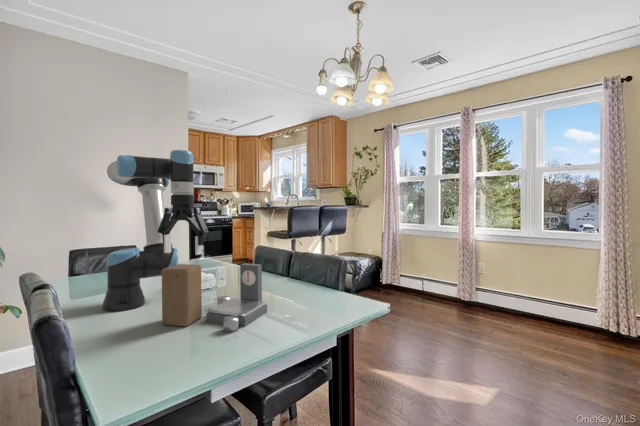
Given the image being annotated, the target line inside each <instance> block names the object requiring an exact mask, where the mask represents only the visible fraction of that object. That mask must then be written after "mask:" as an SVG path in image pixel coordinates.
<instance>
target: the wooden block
mask: <svg viewBox="0 0 640 426" xmlns="http://www.w3.org/2000/svg"><path fill="white" fill-rule="evenodd" d="M202 295H203V294H202V266H201V265H199V264H185V263H184V264H183V263H178V264H177V265H174V266H171V267H167V268H164V269H162V276H161V315H162V317H161V320H162V321H161V322H162V325H164V326H173V327H174V326H175V327H176V326H177V327H188V326H190V325H192V324H193V323H194V322H196V321H198V320H200V319H201V318H202V315H203V313H202V312H203V310H202V309H203V308H202V307H203V306H202V302H203V301H202Z"/></svg>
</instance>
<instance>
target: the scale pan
mask: <svg viewBox="0 0 640 426" xmlns="http://www.w3.org/2000/svg"><path fill="white" fill-rule="evenodd" d="M265 304H266V301H264V300H263V301H254V300H245V299H241V298H236V297H235V298H234V297H231V298H230V300H227V301H225V302H223V303H221V304H219V305H215V306H213V307H211V308H209V309H208V312H211V313H218V314H226V315H234V316H242V317H245V316H247V315H249V314H250V313H252V312H254V311H255V310H257V309H258V308H260V307H262V306H263V305H265Z"/></svg>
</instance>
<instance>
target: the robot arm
mask: <svg viewBox="0 0 640 426" xmlns="http://www.w3.org/2000/svg"><path fill="white" fill-rule="evenodd" d="M194 163H195V162H194V154H193V152H192V151H189V150H184V149H183V150H182V149H173V150H171V151H170V156H169V158H164V157H163V158H162V157H148V156H137V155H131V154H126V155H125V154H124V155H118V156H117V159H116V160H114V161H113V162H111V163H110V164H108V167H107V170H106V173H107V176H108V178H109V179H110V180H111V181H112V182H114V183H116V184H119V185H123V186H126V187H137V191H138V193H140V194H141V195H142V208H143V217H144V228H145V229H144V231H145V238H146V239H145V240H146V243H145V245H144V246H143V247H142V248H143V250H140V248H139V247H129V248H124V249H123V248H122V249H118V250H115V251H112V252H110V253H108V255H107V258H106V268H107V270H106V271H107V274H106V275H107V276H106V278H107V281H106V282H107V283H106V284H107V290H106V293H105V296H104V300H103V302H102V310H103V311H105V312H106V311H107V312H123V311H129V310H133V309H137V308H140V307H141V306H143V305H145V303H146V297H145V295H144V292H143V289H142V286H141V279H147V278H154V277H156V278H157V277H162V269H164V268H167V267H171V266H174V265H177V264H179V252H178V249H177V248H176V247H173V244H172V234H171V232H172V230H173V228H174V227H175V225H176V224H177V223H178V222H179V221H186V222H187V223H188V224H189V226H190V228H192V230H193V231H194V233H195V234H196V235H195V236H194V238H195V239H194V246H195V247H194V251H195V256H200V255H203V246H204V241H205V239H204V238H205V235H207V234H208V235H209V234H210V233H209V229H208V226H207V225H206V223H205V220H204V218H203V215H202V210H201V208H200V207H194V208H193V205H194V204H195V203H194V201H195V200H194V193H195V192H194V191H195V190H194ZM169 182H170V183H169ZM169 184H170V194H171V195H170V205H171V206H172V207H165V203H164V202H165V201H164V192H165V191H166V188H167V187H169Z"/></svg>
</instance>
